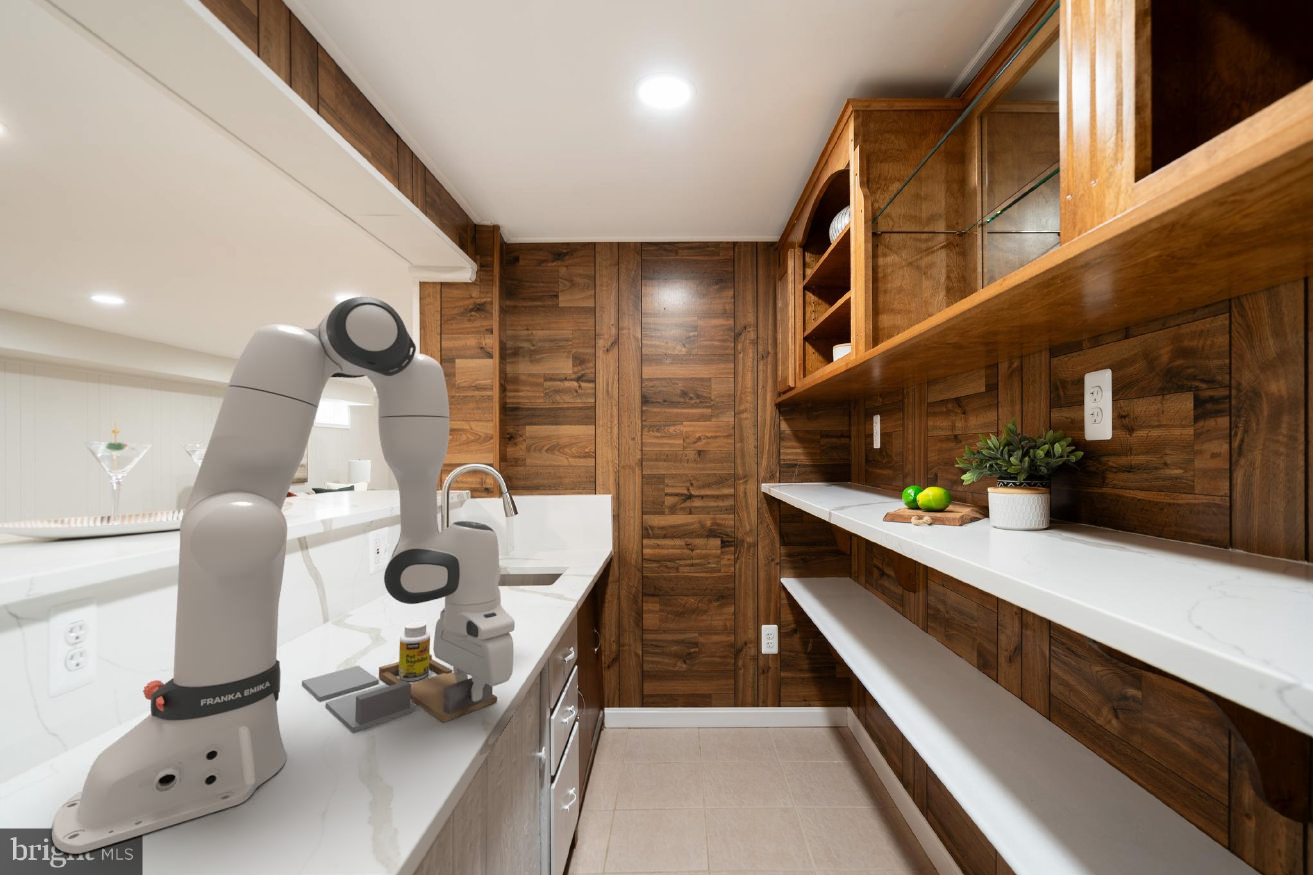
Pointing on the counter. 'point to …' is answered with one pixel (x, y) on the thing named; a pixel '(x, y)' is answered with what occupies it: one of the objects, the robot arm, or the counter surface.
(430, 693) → the wooden tray
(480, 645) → the robot arm
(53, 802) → the counter surface
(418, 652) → the supplement bottle
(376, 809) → the counter surface
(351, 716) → the broken grey strip
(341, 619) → the counter surface
